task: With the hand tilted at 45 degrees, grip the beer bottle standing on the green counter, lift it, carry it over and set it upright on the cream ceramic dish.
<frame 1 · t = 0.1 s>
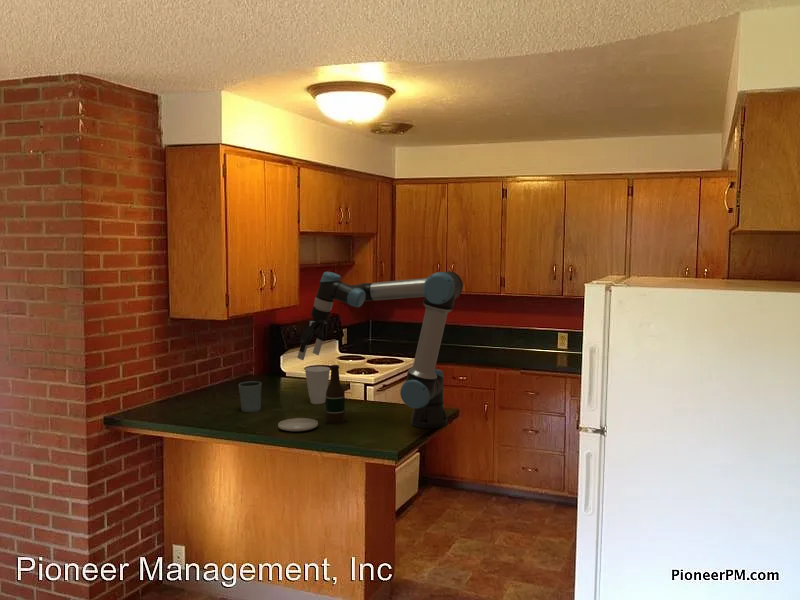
hand: (308, 356, 287), 28 cm above the worktop, tool tilted 20°, fingers open, 13 cm apart
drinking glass: (250, 410, 311), on the worktop
cup: (317, 402, 325), on the worktop
beer bottle: (335, 422, 290), on the worktop
dish: (298, 428, 280), on the worktop
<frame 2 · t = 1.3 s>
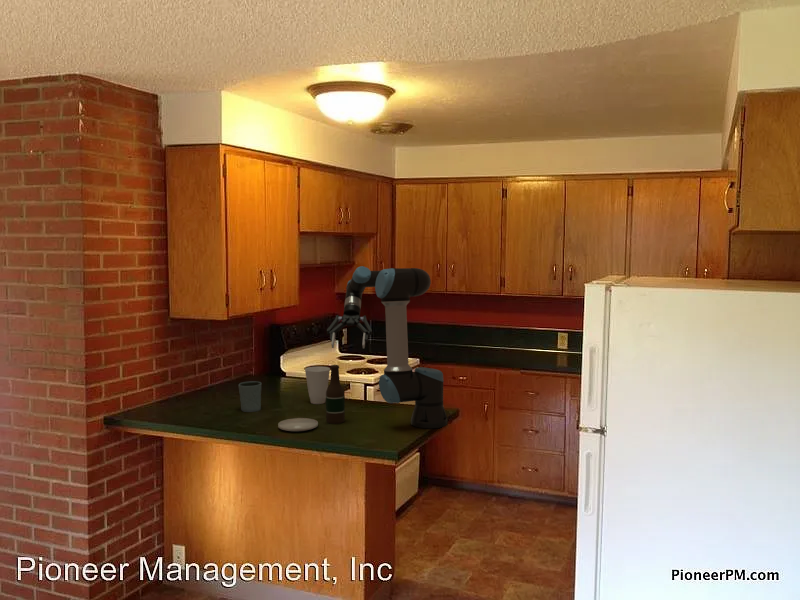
hand: (347, 346, 302), 30 cm above the worktop, tool tilted 45°, fingers open, 13 cm apart
nothing on the worktop moved.
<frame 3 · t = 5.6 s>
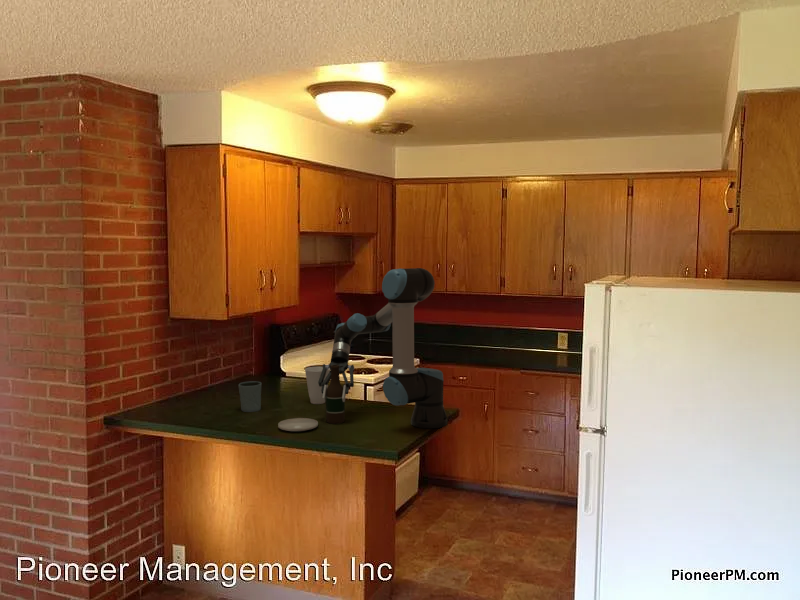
hand: (333, 399, 286), 10 cm above the worktop, tool tilted 45°, fingers closed on beer bottle, 7 cm apart
beer bottle: (335, 422, 290), on the worktop, touching gripper
everything else where it was.
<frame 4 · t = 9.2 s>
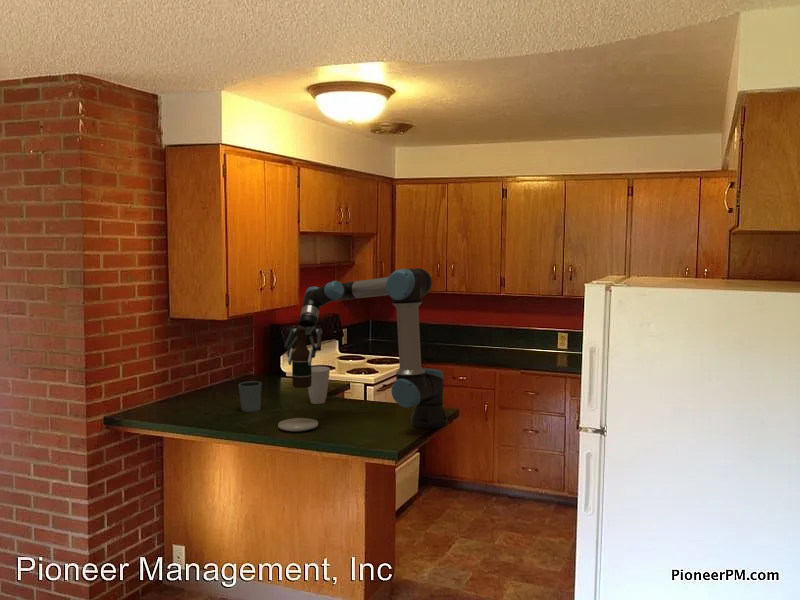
hand: (299, 363, 277), 27 cm above the worktop, tool tilted 45°, fingers closed on beer bottle, 7 cm apart
beer bottle: (302, 386, 281), point 17 cm above the worktop, touching gripper
everything else where it was.
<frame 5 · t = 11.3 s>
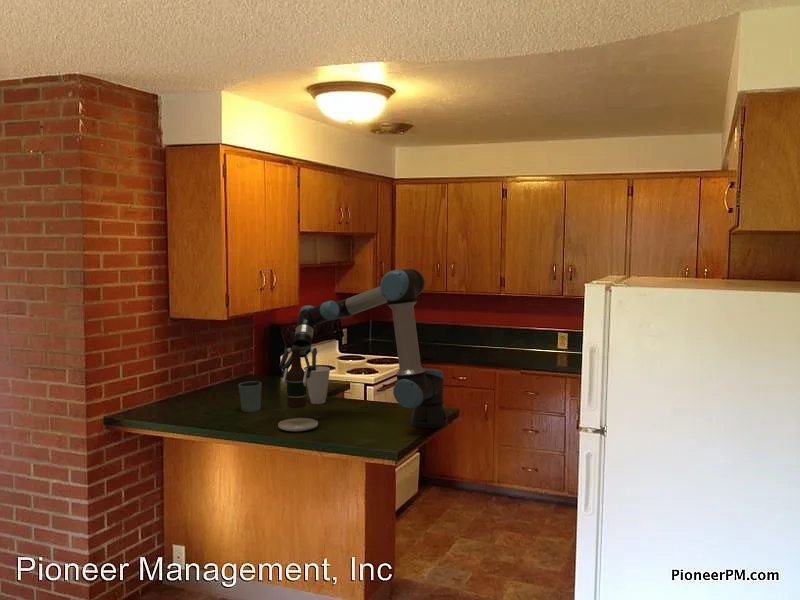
hand: (294, 383, 275), 19 cm above the worktop, tool tilted 45°, fingers closed on beer bottle, 7 cm apart
beer bottle: (296, 406, 280), point 9 cm above the worktop, touching gripper
everything else where it was.
when the fingers open (13 cm above the worktop, at t = 13.0 s): beer bottle drops 1 cm, resting on dish.
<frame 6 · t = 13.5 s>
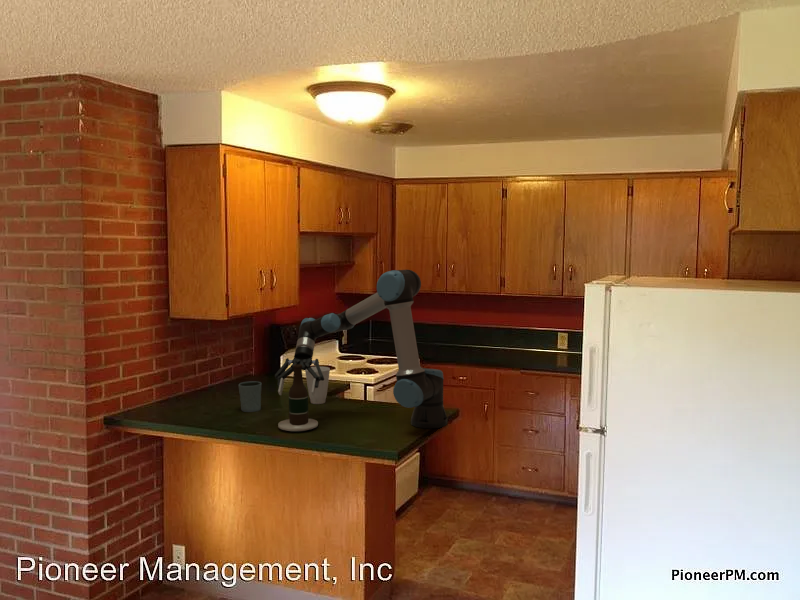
hand: (296, 393, 277), 15 cm above the worktop, tool tilted 45°, fingers open, 13 cm apart
beer bottle: (298, 423, 280), point 2 cm above the worktop, touching dish
everything else where it was.
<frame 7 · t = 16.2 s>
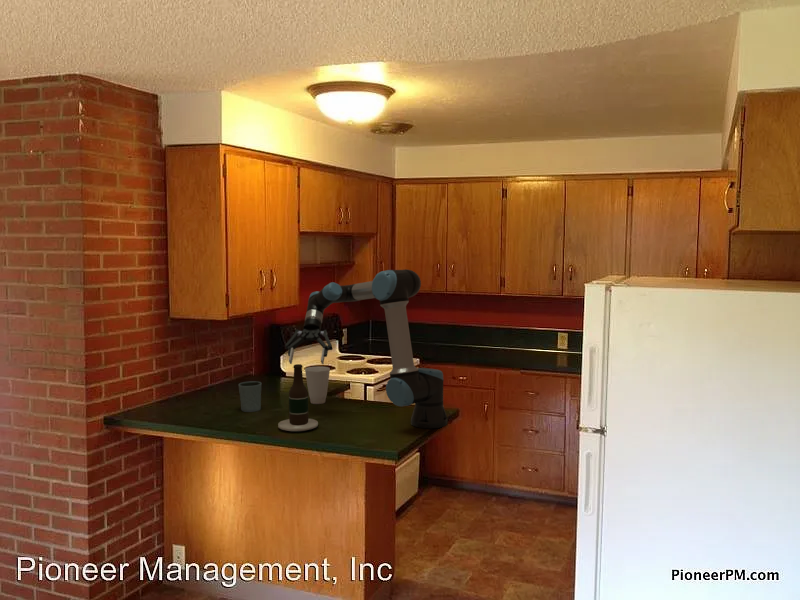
hand: (306, 362, 289), 25 cm above the worktop, tool tilted 45°, fingers open, 13 cm apart
nothing on the worktop moved.
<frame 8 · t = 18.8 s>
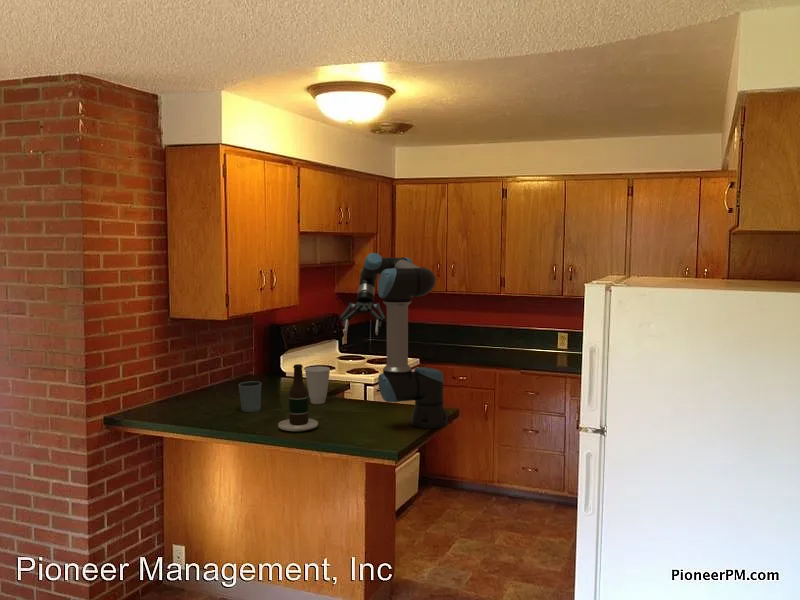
hand: (360, 333, 300), 36 cm above the worktop, tool tilted 45°, fingers open, 13 cm apart
nothing on the worktop moved.
at the end: beer bottle inside the target area on the dish (0.3 cm from its centre), point 1.8 cm above the dish's base; beer bottle tilted 0°; the gripper is holding nothing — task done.
